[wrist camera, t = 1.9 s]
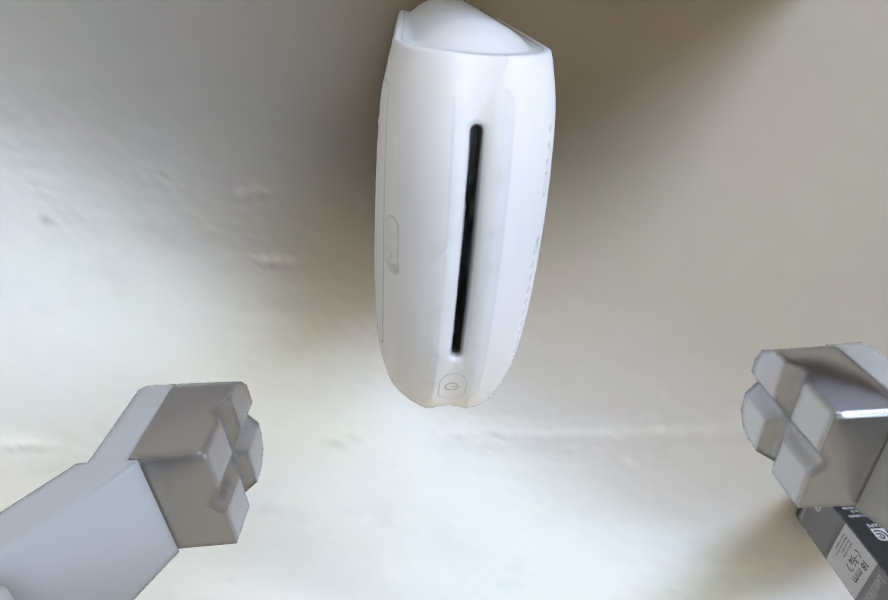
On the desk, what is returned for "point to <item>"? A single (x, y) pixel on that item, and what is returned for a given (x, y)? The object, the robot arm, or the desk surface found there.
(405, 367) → the photo printer
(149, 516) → the robot arm
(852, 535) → the tape cartridge
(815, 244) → the desk surface
